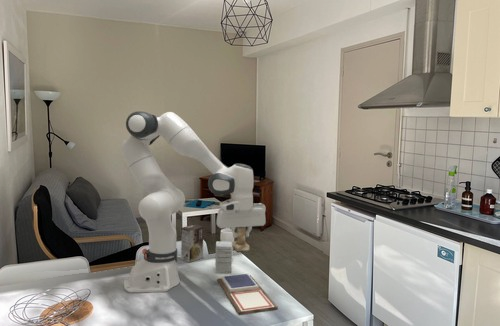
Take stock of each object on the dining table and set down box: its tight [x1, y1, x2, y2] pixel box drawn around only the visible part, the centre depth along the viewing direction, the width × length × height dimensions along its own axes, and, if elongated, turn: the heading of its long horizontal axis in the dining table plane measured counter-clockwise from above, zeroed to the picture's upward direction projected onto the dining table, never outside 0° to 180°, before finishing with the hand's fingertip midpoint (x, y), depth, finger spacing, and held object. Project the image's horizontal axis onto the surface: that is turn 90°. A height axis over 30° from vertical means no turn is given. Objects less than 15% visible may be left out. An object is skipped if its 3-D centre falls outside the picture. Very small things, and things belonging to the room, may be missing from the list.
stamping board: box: [216, 274, 279, 316], centre depth 152 cm, size 15×30×1 cm, turn 19°
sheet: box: [231, 290, 274, 311], centre depth 145 cm, size 13×14×1 cm
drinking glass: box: [219, 228, 235, 255], centre depth 188 cm, size 7×7×15 cm
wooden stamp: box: [232, 227, 250, 253], centre depth 157 cm, size 5×7×9 cm
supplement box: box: [214, 241, 233, 274], centre depth 175 cm, size 7×7×13 cm
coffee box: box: [180, 223, 204, 263], centre depth 188 cm, size 9×6×16 cm
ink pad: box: [220, 273, 260, 292], centre depth 159 cm, size 12×13×2 cm
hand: (240, 237), depth 157 cm, fingers closed on wooden stamp, 3 cm apart
